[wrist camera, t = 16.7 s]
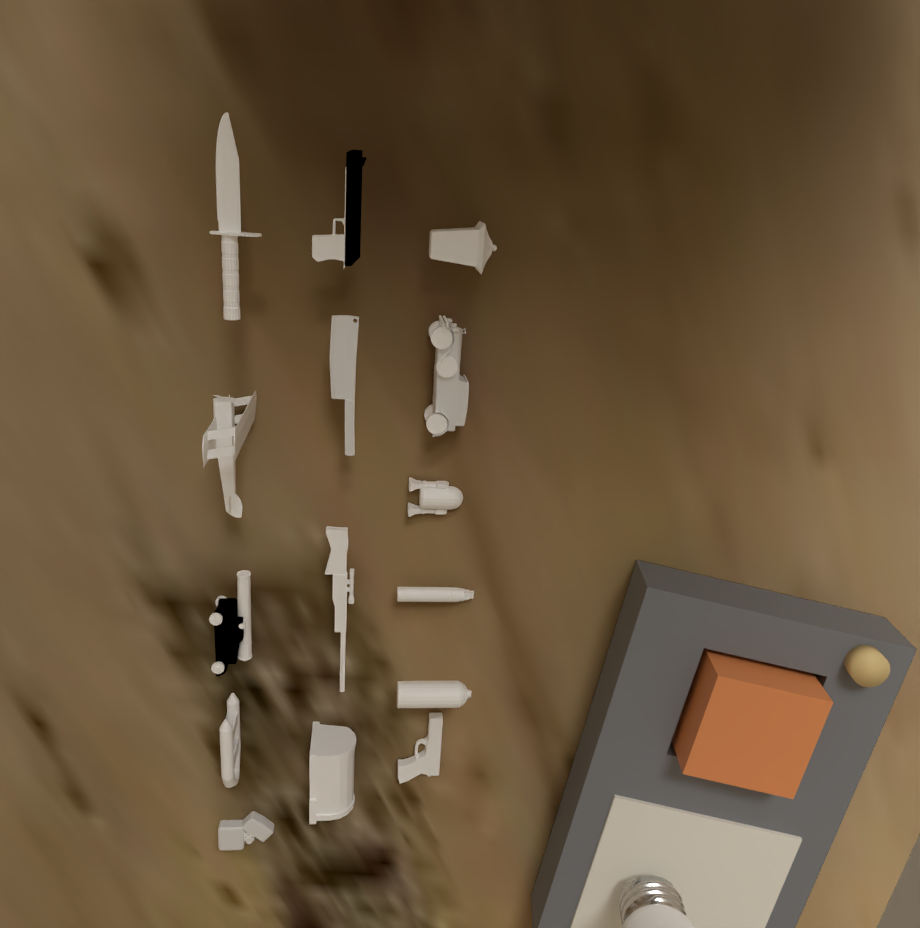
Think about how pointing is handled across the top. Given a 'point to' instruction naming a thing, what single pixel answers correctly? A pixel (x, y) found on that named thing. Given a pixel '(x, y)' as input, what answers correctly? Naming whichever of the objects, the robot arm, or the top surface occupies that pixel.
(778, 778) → the button
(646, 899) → the light bulb
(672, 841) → the breaker board
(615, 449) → the top surface
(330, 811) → the miniature set
